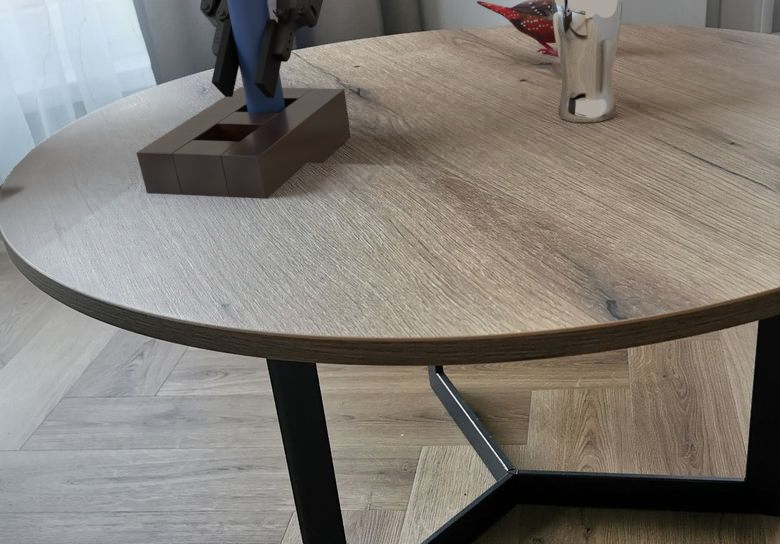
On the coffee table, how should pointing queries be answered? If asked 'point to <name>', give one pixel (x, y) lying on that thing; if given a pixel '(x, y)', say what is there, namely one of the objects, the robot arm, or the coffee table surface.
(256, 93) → the blue peg
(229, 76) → the robot arm
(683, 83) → the coffee table surface
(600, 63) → the beer glass
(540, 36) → the decorative bird figurine
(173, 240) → the coffee table surface
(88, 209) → the coffee table surface
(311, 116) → the peg rack
